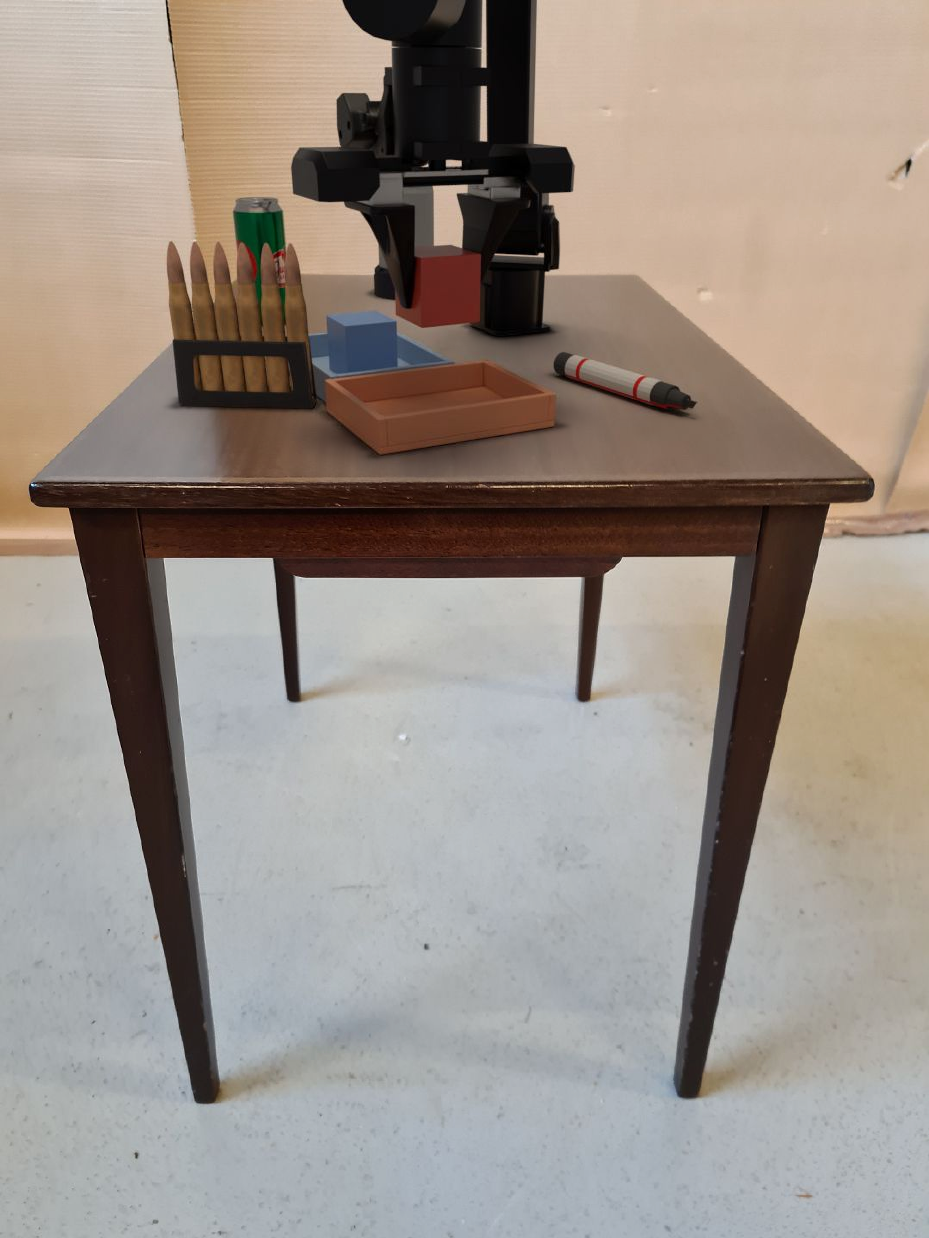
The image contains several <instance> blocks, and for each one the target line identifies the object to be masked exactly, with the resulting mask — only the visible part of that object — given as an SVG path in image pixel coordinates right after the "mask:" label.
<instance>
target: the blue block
mask: <svg viewBox="0 0 929 1238" xmlns="http://www.w3.org/2000/svg"><path fill="white" fill-rule="evenodd" d="M325 318H326V319H325V320H326V332H327V336H328V352H329V367H330V369H331V370H332V371H334V372H335V373H336V374H342V373H351V372H359V371H367V370H375V369H383V368H392V367H398V355H397V332H398V325H397V323H398V321H397V320H395V319H394V318H391V317H389V316H387V315H385V314H384V313H382V312H380V311H378V310H366V311H365V310H364V311H354V312H343V313H333V314H326V315H325Z"/></svg>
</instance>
